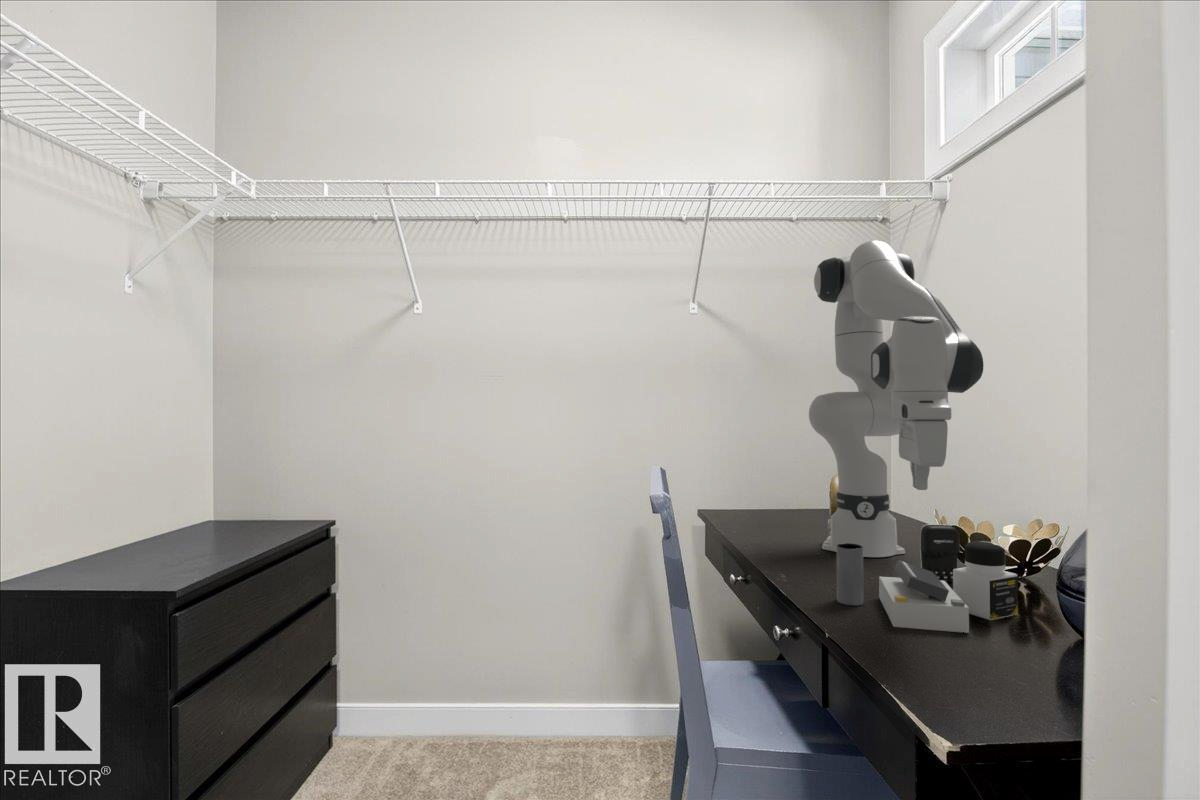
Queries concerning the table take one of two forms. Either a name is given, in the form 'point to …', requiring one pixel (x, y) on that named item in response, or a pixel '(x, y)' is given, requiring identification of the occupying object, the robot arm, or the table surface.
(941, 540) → the battery charger
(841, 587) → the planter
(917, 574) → the dark gray slim case
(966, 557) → the medicine bottle
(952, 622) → the panel
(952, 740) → the table surface
